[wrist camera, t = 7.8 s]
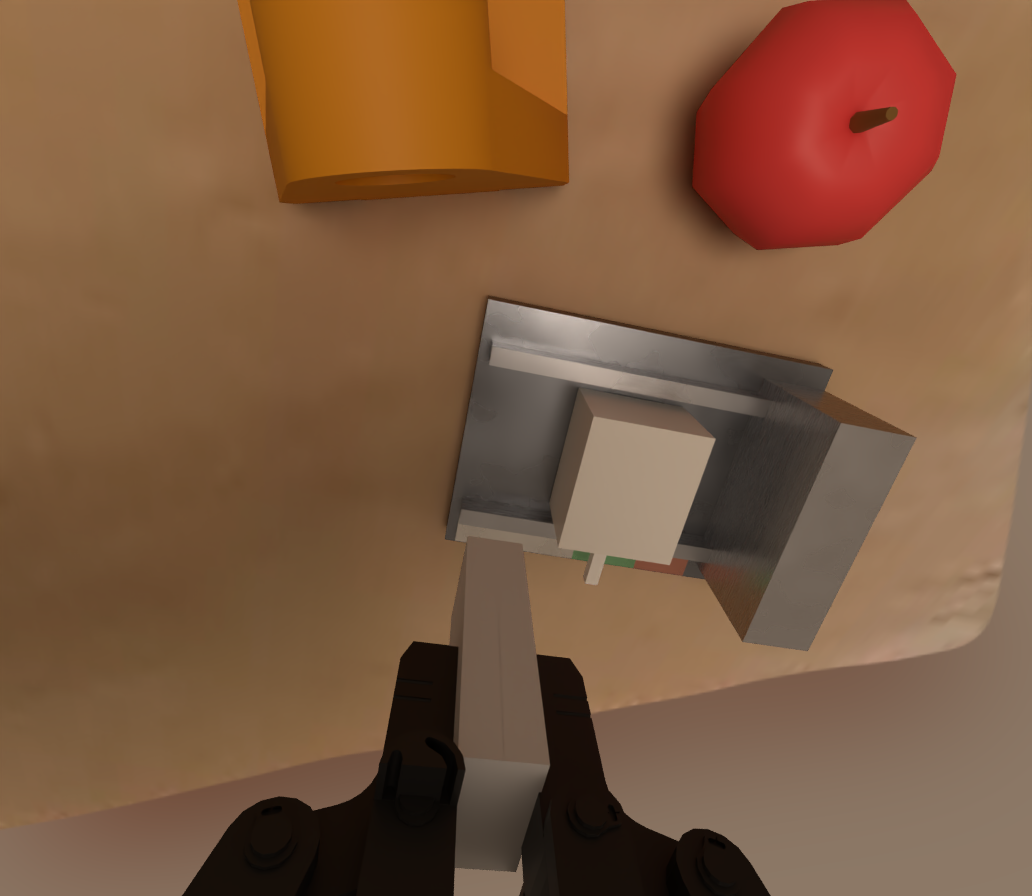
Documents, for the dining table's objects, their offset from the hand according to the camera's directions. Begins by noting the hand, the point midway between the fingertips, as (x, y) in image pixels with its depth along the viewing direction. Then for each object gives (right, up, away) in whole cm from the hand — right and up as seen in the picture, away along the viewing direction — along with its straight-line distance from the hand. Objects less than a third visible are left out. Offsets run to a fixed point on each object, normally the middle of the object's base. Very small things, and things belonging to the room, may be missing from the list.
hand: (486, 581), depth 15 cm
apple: (+11, +16, +8) cm, 21 cm away
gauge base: (+6, +4, +12) cm, 14 cm away
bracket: (-3, +18, +7) cm, 19 cm away
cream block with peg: (+5, +2, +12) cm, 13 cm away
